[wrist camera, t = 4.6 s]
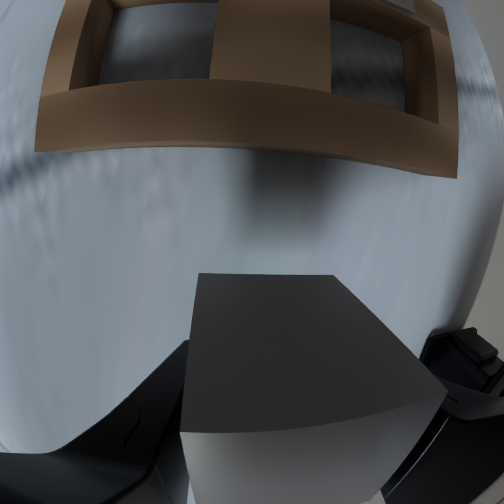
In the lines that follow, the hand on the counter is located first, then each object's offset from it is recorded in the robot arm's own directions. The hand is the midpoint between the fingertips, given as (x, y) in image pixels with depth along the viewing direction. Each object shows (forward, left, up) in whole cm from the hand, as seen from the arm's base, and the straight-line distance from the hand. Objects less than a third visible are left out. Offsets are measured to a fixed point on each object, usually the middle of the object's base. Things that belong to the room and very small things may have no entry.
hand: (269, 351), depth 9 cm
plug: (0, 0, -1) cm, 1 cm away
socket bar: (+12, 0, -6) cm, 14 cm away
